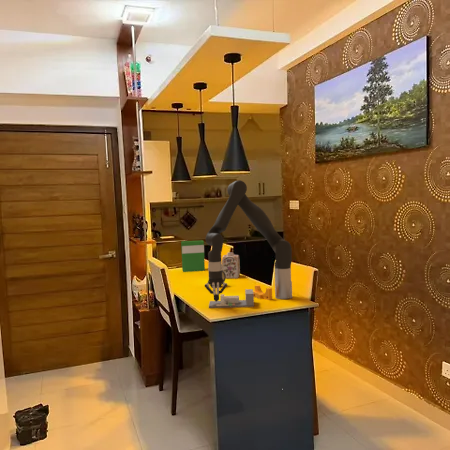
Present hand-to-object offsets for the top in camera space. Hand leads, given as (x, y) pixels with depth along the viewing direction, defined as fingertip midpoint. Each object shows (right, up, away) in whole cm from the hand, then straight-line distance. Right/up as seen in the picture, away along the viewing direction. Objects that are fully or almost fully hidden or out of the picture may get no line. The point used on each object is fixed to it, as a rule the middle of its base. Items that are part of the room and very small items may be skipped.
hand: (216, 300), depth 228 cm
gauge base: (+8, -2, 0) cm, 8 cm away
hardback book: (-21, +4, +112) cm, 114 cm away
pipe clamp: (+26, -1, +13) cm, 29 cm away
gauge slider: (+7, -1, -2) cm, 8 cm away
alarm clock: (0, +1, +49) cm, 49 cm away
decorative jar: (+9, +3, +80) cm, 80 cm away
